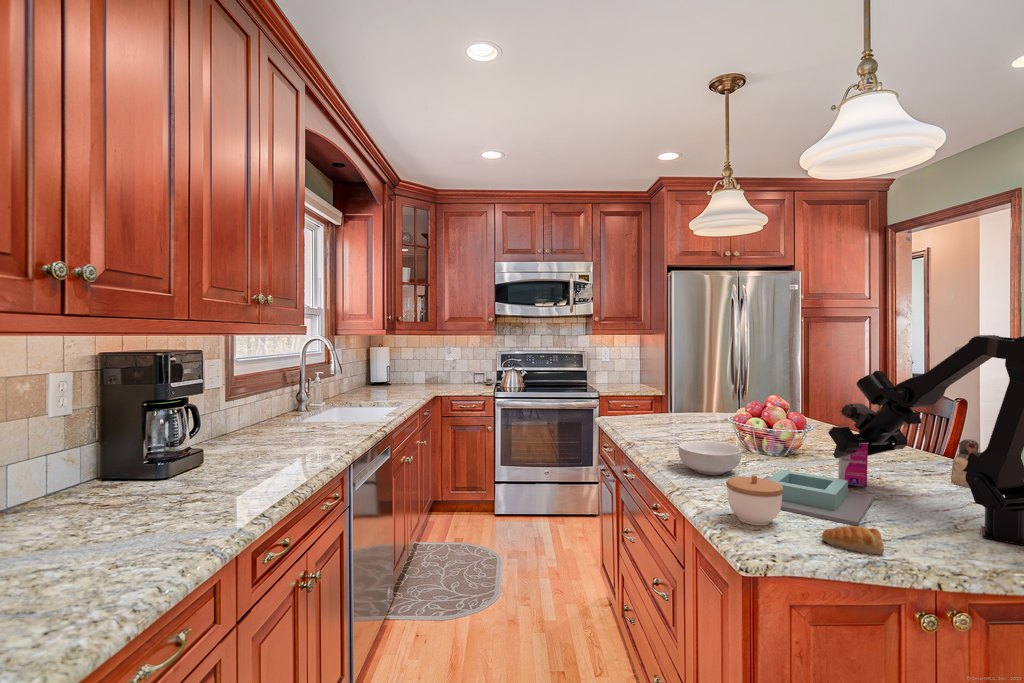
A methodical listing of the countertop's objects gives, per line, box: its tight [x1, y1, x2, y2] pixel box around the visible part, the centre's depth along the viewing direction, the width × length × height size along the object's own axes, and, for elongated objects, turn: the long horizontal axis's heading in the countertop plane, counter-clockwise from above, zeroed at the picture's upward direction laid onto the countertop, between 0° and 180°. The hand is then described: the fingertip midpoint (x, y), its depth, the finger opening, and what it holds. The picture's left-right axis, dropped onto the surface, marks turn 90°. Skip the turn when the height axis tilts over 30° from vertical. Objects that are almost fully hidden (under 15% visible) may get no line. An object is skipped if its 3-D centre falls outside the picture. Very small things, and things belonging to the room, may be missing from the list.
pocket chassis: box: [762, 469, 876, 527], centre depth 122 cm, size 24×24×4 cm
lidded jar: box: [726, 474, 783, 526], centre depth 108 cm, size 11×11×9 cm
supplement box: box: [837, 444, 869, 488], centre depth 133 cm, size 6×6×12 cm
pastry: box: [821, 525, 885, 555], centre depth 96 cm, size 9×7×4 cm
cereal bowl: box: [678, 440, 742, 476], centre depth 146 cm, size 17×17×7 cm
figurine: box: [950, 438, 980, 488], centre depth 134 cm, size 7×7×12 cm
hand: (848, 456), depth 134 cm, fingers closed on supplement box, 8 cm apart
